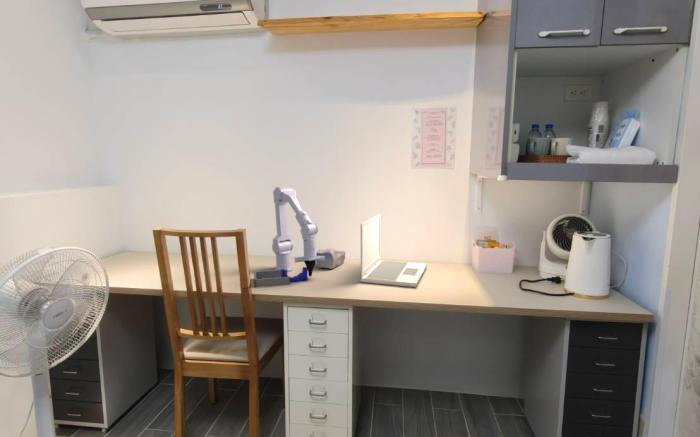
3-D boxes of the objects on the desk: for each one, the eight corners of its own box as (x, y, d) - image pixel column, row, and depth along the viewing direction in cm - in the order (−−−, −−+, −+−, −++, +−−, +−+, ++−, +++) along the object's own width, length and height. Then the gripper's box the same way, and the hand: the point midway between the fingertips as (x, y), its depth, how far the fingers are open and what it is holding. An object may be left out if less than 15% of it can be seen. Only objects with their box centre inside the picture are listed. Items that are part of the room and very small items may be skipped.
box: (254, 278, 195) (253, 271, 194) (287, 275, 198) (287, 269, 198) (254, 287, 181) (253, 279, 181) (289, 284, 185) (289, 277, 184)
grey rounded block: (313, 249, 208) (324, 242, 227) (314, 269, 209) (324, 261, 229) (337, 250, 205) (346, 243, 225) (338, 270, 207) (346, 262, 226)
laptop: (416, 288, 179) (417, 226, 175) (359, 283, 187) (359, 223, 183) (426, 268, 211) (427, 215, 207) (378, 264, 220) (378, 213, 216)
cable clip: (305, 278, 195) (305, 266, 194) (307, 280, 190) (307, 268, 189) (281, 280, 191) (280, 268, 190) (282, 283, 187) (282, 271, 186)
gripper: (295, 251, 186) (296, 279, 188) (325, 249, 190) (326, 276, 192) (293, 247, 193) (294, 274, 195) (323, 246, 197) (323, 272, 199)
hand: (310, 275), depth 194 cm, fingers closed
